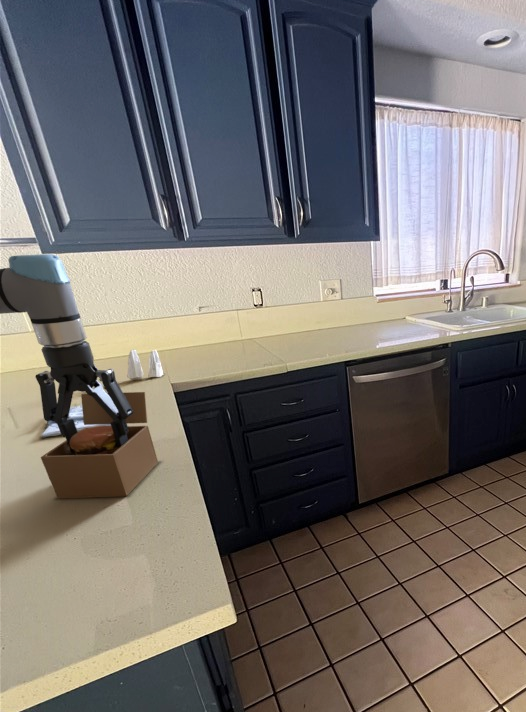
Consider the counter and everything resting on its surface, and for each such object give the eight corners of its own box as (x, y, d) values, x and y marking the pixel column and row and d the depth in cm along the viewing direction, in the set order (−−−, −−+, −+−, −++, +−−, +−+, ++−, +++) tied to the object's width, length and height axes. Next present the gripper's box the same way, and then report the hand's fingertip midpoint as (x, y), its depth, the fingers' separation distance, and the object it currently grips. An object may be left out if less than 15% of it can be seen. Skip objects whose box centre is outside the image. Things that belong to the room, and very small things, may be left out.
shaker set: (129, 382, 155) (120, 352, 150) (128, 379, 158) (119, 350, 153) (164, 376, 161) (157, 347, 156) (163, 374, 164) (156, 345, 159)
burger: (90, 441, 94) (84, 422, 92) (134, 439, 94) (128, 420, 92) (63, 463, 85) (55, 442, 83) (112, 461, 86) (105, 440, 84)
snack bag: (128, 404, 135) (126, 397, 134) (118, 428, 118) (115, 421, 117) (58, 413, 129) (55, 407, 128) (35, 440, 112) (32, 433, 111)
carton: (57, 498, 86) (40, 457, 82) (98, 464, 99) (84, 427, 95) (126, 496, 86) (113, 455, 82) (158, 462, 99) (147, 425, 95)
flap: (80, 393, 94) (81, 393, 94) (83, 424, 95) (84, 424, 95) (144, 392, 94) (144, 392, 94) (146, 422, 95) (147, 422, 95)
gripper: (133, 337, 84) (161, 439, 93) (20, 340, 83) (60, 443, 93) (112, 346, 77) (144, 456, 86) (-11, 349, 77) (35, 459, 86)
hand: (101, 449), depth 90 cm, fingers closed on burger, 9 cm apart
